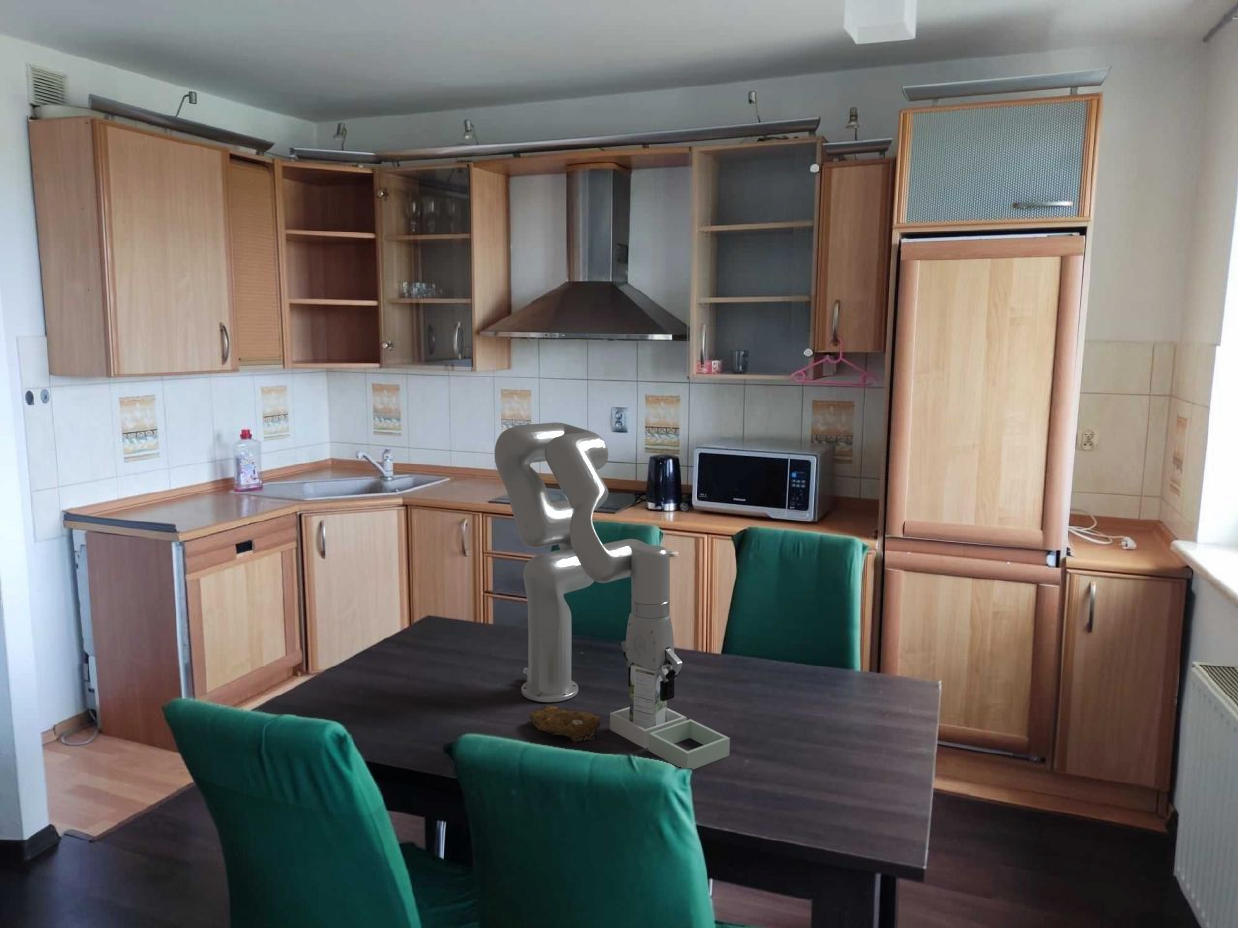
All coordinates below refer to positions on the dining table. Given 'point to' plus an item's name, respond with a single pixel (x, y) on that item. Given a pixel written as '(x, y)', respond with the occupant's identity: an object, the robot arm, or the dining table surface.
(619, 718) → the bin
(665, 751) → the bin
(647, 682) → the syrup box
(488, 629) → the dining table surface
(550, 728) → the decorative rock
